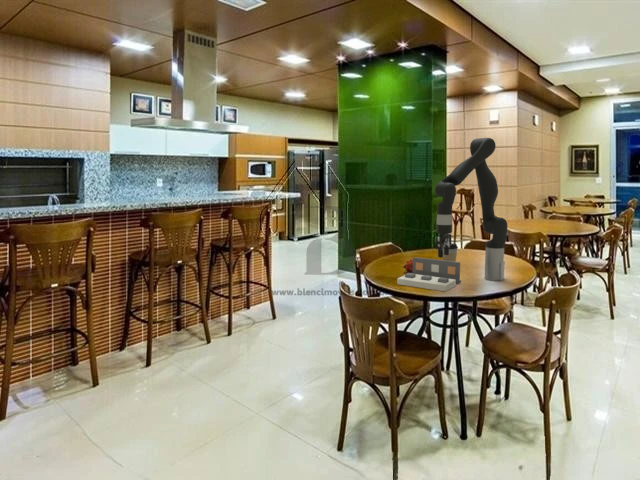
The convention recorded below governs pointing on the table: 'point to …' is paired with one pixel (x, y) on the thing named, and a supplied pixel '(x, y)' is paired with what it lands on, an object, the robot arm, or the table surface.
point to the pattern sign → (437, 268)
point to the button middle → (426, 277)
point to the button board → (426, 283)
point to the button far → (410, 275)
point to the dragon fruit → (409, 266)
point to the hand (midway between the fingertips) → (443, 256)
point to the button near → (443, 280)
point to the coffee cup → (451, 253)
